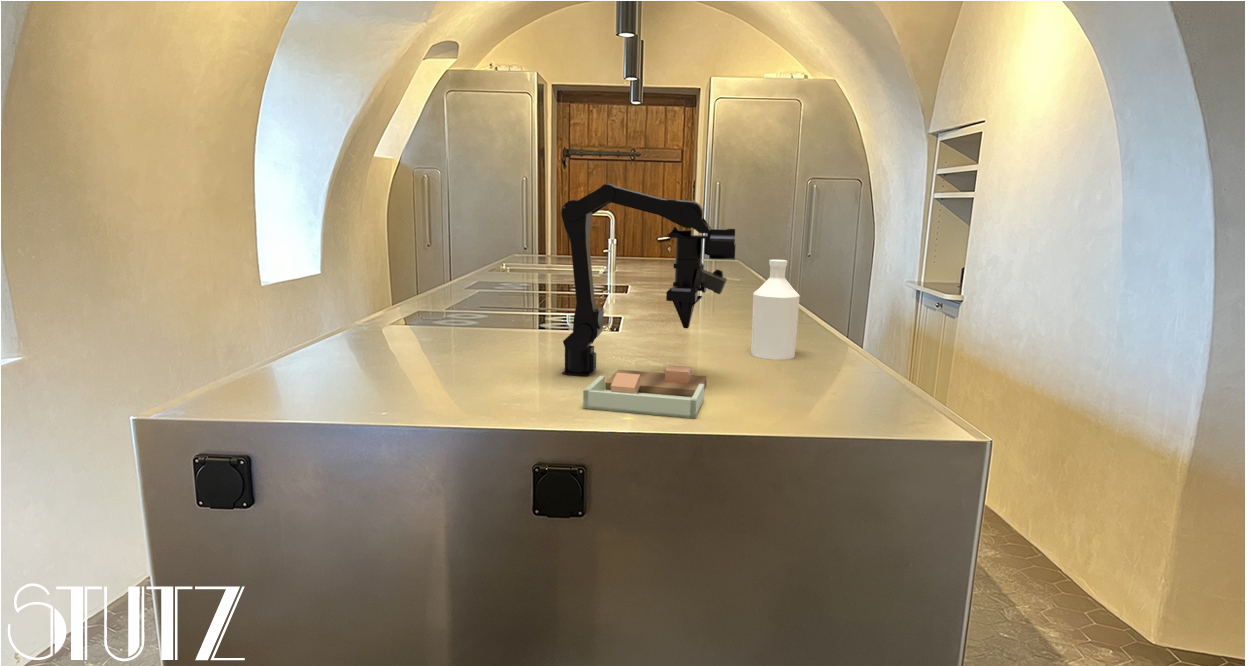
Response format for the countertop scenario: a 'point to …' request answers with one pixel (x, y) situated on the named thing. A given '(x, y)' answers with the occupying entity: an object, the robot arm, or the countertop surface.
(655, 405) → the sage tray
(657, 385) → the walnut board
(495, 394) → the countertop surface
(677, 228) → the robot arm
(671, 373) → the right tile
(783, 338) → the bottle
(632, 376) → the left tile
